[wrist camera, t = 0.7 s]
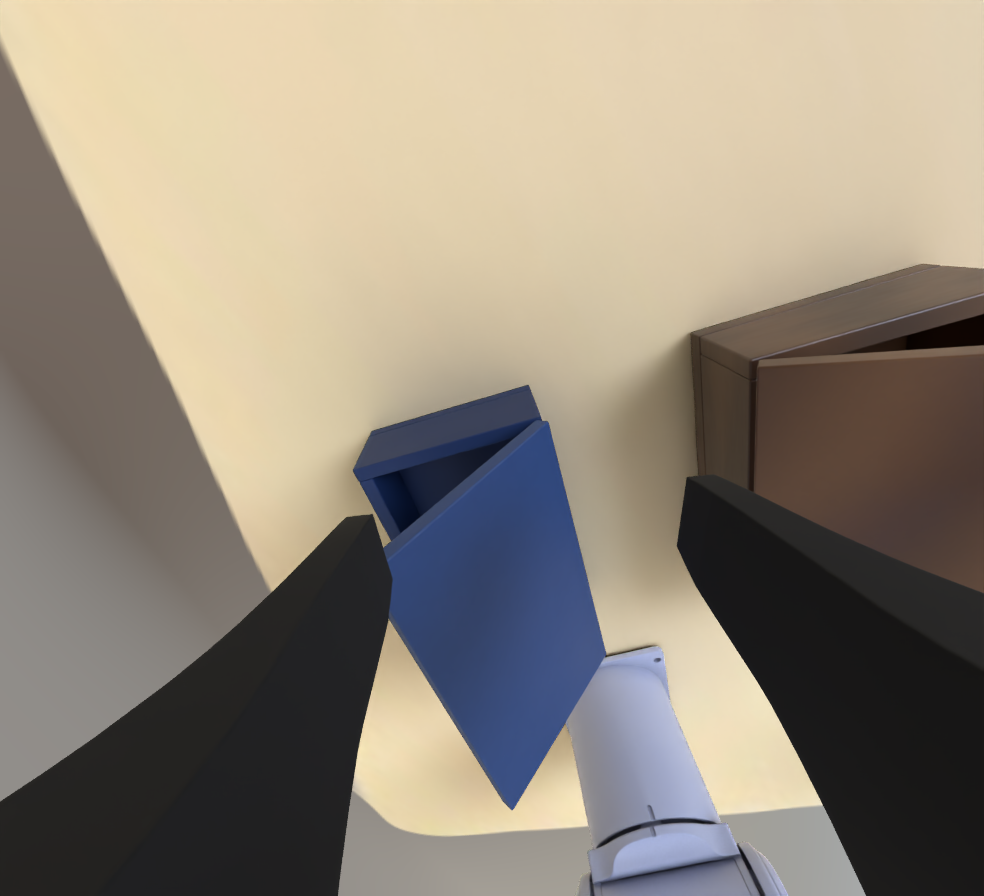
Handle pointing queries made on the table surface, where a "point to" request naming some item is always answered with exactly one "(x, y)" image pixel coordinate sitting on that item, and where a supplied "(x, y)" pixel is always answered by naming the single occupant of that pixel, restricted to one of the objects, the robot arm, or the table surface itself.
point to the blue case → (437, 454)
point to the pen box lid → (881, 451)
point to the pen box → (822, 347)
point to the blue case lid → (500, 608)
